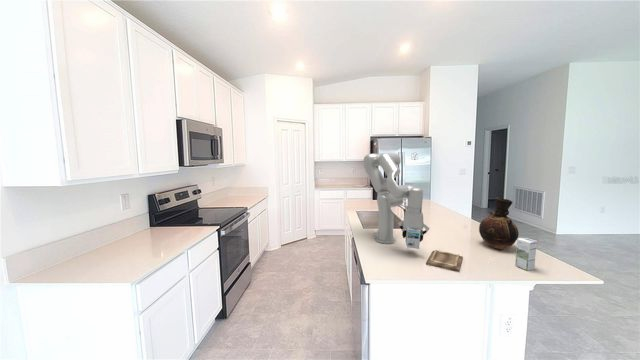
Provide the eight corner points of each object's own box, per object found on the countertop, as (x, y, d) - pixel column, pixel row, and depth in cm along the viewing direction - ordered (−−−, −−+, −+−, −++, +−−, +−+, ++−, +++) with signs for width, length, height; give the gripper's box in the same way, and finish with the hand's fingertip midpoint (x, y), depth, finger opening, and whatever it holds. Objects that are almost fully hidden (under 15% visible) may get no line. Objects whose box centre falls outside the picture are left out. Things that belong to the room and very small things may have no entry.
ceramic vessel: (471, 241, 159) (473, 195, 156) (496, 239, 161) (499, 194, 157) (496, 254, 138) (500, 202, 135) (525, 253, 140) (530, 201, 136)
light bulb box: (419, 249, 135) (421, 230, 133) (406, 247, 136) (407, 229, 134) (416, 241, 145) (418, 223, 143) (404, 240, 146) (406, 222, 145)
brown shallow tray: (426, 264, 128) (426, 260, 127) (432, 252, 142) (432, 248, 142) (459, 272, 119) (459, 267, 119) (462, 258, 134) (462, 254, 134)
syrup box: (535, 269, 121) (537, 240, 120) (527, 271, 119) (529, 242, 117) (522, 264, 127) (524, 236, 125) (514, 266, 124) (516, 238, 123)
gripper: (396, 208, 139) (395, 237, 142) (429, 213, 129) (427, 245, 132) (400, 205, 145) (399, 233, 148) (432, 210, 135) (430, 240, 138)
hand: (412, 239), depth 140 cm, fingers closed on light bulb box, 8 cm apart
